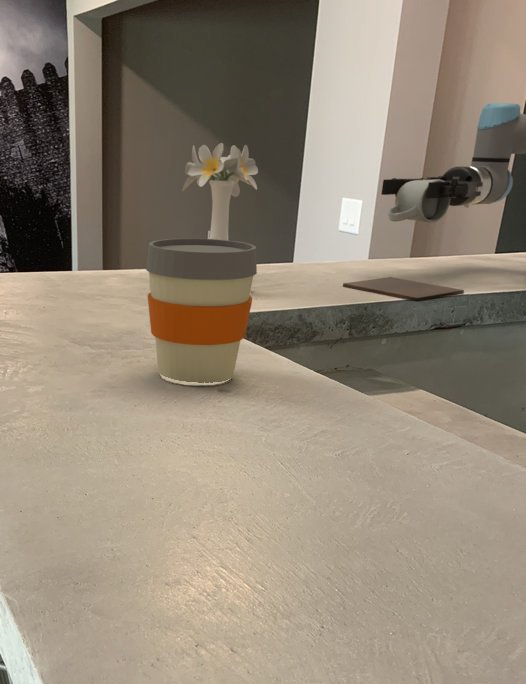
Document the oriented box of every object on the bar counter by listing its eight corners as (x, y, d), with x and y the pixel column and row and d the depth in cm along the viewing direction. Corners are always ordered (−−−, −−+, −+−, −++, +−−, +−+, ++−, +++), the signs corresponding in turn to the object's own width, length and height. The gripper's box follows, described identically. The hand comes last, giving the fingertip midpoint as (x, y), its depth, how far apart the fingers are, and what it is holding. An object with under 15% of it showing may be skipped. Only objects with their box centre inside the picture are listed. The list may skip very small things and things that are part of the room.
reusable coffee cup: (254, 392, 86) (266, 254, 80) (144, 390, 86) (146, 251, 80) (241, 362, 98) (250, 239, 91) (143, 360, 97) (145, 237, 91)
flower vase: (244, 283, 150) (255, 143, 139) (252, 301, 133) (265, 144, 123) (178, 281, 150) (184, 141, 140) (178, 299, 134) (184, 142, 123)
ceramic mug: (416, 217, 156) (423, 177, 152) (447, 222, 149) (454, 179, 146) (376, 220, 151) (382, 178, 148) (406, 224, 145) (413, 180, 141)
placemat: (463, 293, 146) (464, 290, 146) (417, 301, 138) (417, 297, 137) (389, 279, 158) (389, 276, 158) (342, 286, 150) (342, 283, 149)
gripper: (511, 209, 153) (455, 214, 139) (413, 201, 167) (354, 205, 153) (519, 168, 150) (464, 169, 136) (419, 164, 164) (360, 164, 150)
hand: (406, 188), depth 145 cm, fingers closed on ceramic mug, 9 cm apart
